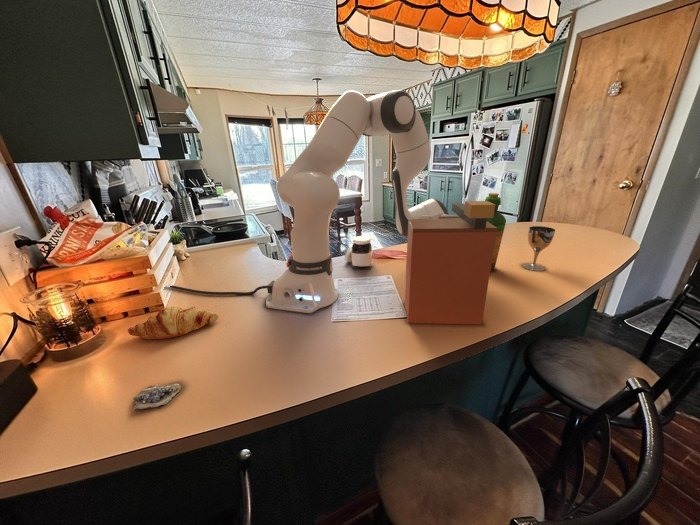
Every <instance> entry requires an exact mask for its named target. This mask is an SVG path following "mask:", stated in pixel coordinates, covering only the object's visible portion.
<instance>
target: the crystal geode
mask: <svg viewBox="0 0 700 525" xmlns="http://www.w3.org/2000/svg"><path fill="white" fill-rule="evenodd" d="M181 390H182V386H181V384H180V383H173V384H170V383H169V384H168V385H166V386H165V383H163V384H162V385H160V384H159V383H157V384H156V385H150V386H147V387H145V388H143V389H142V390H141V391H140V392H139V394H137V395H135V396H134V397H133V399H132V400H133V401H132V403H133V404H135V405H133V407H132V409H131V410H133V409H134V410H137V409H138V410H143V409H148V408H157V407H160V406H161V405H162V406H163V405H167V404H168V403H169V402H171V400H173V398H174V397H176V395H177V394H178V393H179V392H181Z"/></svg>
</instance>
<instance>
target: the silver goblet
mask: <svg viewBox="0 0 700 525" xmlns="http://www.w3.org/2000/svg"><path fill="white" fill-rule="evenodd" d="M555 234H556V229H555V228H553V227H549V226H541V225H533V226H532V225H531V226H529V227H528V231H527V242H528V244H529V246H530V248H531V249H532V250H533V254H534V255H533V262H532V263H523V264H522V268H524V269H526V270H529V271H535V272H542V271H544V270H545V267H544V266H542V265H540V264H537V259H538V257H539V254H540V253H541V252H542V251H543V250H545V249H547V248H548V247H549V246H550V245H551V244H552V242H553V239H554V237H555Z"/></svg>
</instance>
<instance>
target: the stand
mask: <svg viewBox="0 0 700 525" xmlns="http://www.w3.org/2000/svg"><path fill="white" fill-rule="evenodd" d="M496 234H497V227H495V226H494V225H492V224H491V223H489V222H486V228H485V229H475V228H473V227H472V226H471V225H470V224H468V223H467V222H466V221H465V220H463V219H462V218H458V219H408V237H407V240H406V241H407V242H406V262H405V263H406V264H405V265H406V266H405V287H404V308H405V313H406V314H405V315H406V319H407V323H408V324H446V325H453V324H454V325H482V324H483V318H484V312H485V305H486V300H487V293H488V287H489V281H490V275H491V271H490V270H491V264H492V258H493V252H494V246H495V240H496Z"/></svg>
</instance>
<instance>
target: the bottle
mask: <svg viewBox="0 0 700 525" xmlns="http://www.w3.org/2000/svg"><path fill="white" fill-rule="evenodd" d="M501 198H502V197H500V193H497V192H490V193H488V196H486V197H485V199H484V201H488V202H491V203H493V204H495V210H494V216H493V218H487V222H489V223H491V224H492V225H494V226H495V227H497V234H496V240H495V246H494V252H493V258H492V264H491V270H490V272H492V271H495V269H496V265H497V261H498V256H499V252H500V249H501V244H502V240H503V235H504V231H505V228H506V223H507V218H506V217H505V215H504V214H502V213H501V212H499V206H501V205H502V200H501Z"/></svg>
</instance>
